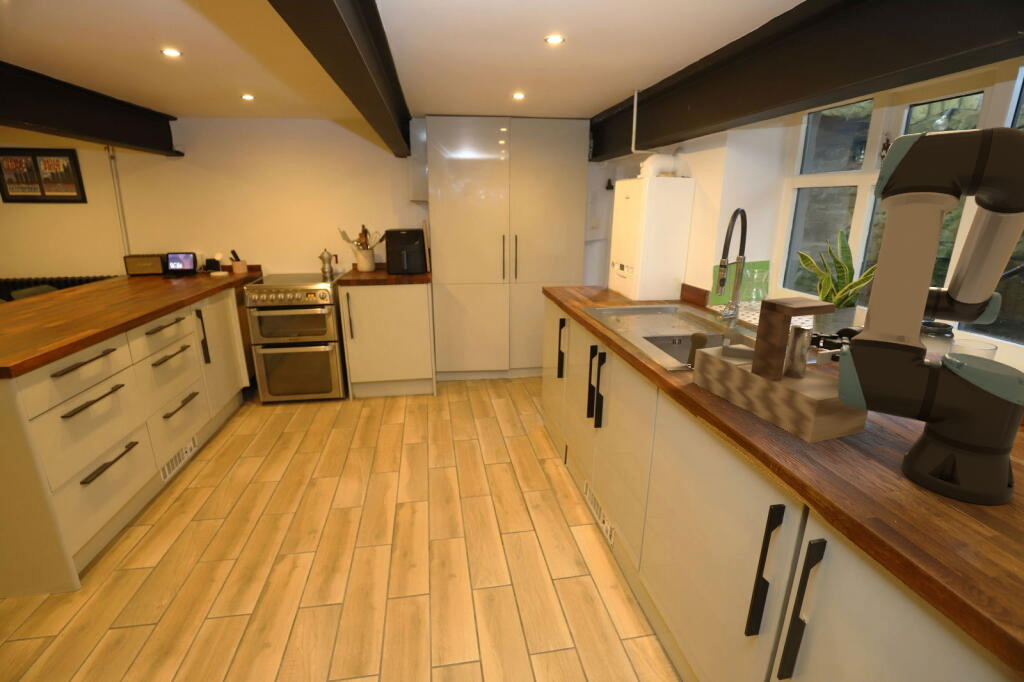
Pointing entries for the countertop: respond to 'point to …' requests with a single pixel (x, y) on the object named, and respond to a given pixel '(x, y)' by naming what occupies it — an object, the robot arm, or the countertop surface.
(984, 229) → the robot arm
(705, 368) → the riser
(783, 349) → the brown wooden l bracket
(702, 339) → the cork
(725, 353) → the v cradle
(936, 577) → the countertop surface
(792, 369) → the axle
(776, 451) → the countertop surface
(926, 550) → the countertop surface
